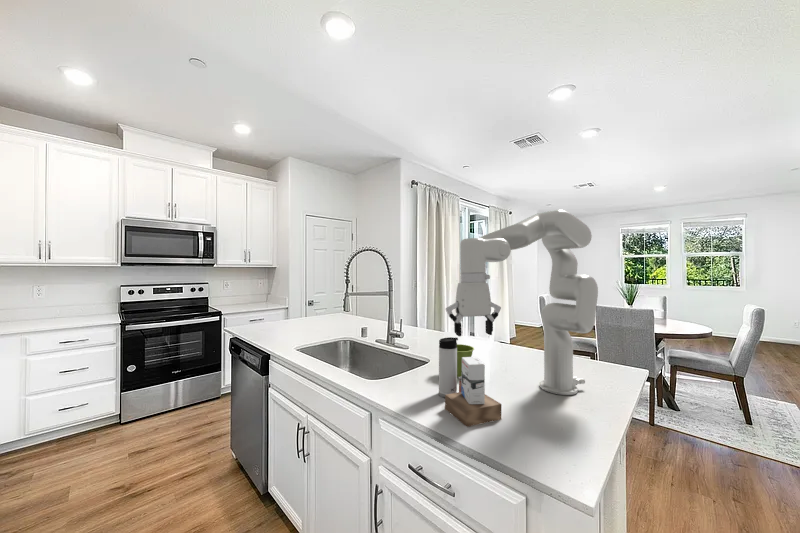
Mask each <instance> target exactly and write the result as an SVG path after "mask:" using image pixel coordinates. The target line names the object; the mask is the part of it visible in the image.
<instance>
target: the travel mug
mask: <svg viewBox="0 0 800 533" xmlns="http://www.w3.org/2000/svg"><path fill="white" fill-rule="evenodd" d="M457 341H459V338H458V337H444V338H443V337H442V338H440V339H439V341H438V342H439V343H438V344H439V345H438V395H439V396H440V397H442V398H444V399H445V395H446V394H452V393H458V377H457V344H458V342H457Z"/></svg>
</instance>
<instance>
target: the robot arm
mask: <svg viewBox="0 0 800 533" xmlns="http://www.w3.org/2000/svg"><path fill="white" fill-rule="evenodd" d="M592 237H593V235H592V231H591V229H590V228H589V226H588V225H587V223H585V222H583V221H582V220H580V219H579V218H577V216H575V215H573V214H572V213H571V212H569V211H566V210H563V209H556V210H549V211H543V212H539V213H536V214H533V215H530V216H529V217H527V218H525V219H522V220H520V221H518V222H516V223H514V224H511V225H508V226H506V227H503V228H500V229H498V230H495V231H493V232H492V231H491V232H489V233H487V234H484V235H482V236H479V237H471V238H470V237H469V238H467V237H466V238H463V239H462V240H461V241H460V246H459V250H460V257H459V258H460V283H457V286H456V294H455V295H456V296H455V302H454V303H452V304H451V305H449V306H447V307H445V311H446V313H447V315H448V317H449V318H450V319H451V320H452V322H454V324H453V325H454V328H453V330H454V333H455V335H456V336H458V337H462V323H461V321H462V320H463V318H465V317H468V318H469V317H470V318H471V317H484V318H485V319H486V320H485V322H484V324H485V333H486V334H487V335H489V336H493V332H494V323H495V321H496V318H498V316H499V313H500V311H501V310H502V307H501V306H500V305H498V304H496V303H494V302H492V301H491V300H492V299H491V292H490V287H489V284H488V282H487V281H488V280H490V279H491V275H490V274H487V272H486V271H487V270H486V267H487V266H486V264H487V263H500V262H503V261H506V260H507V259H508V258H509V257H510V255H511V252H512V251H513V250H518V249H523V248H526V247H528V246H530V245H532V244H533V243H536V242H537V241H539V240H541V242H542V244H543V246H544V248H546V250H547V252H548V253H549V255H550V258H551V272H550V280H549V286H548V287H549V288H548V289H549V295H550V296H551V297H552V298H554V299H556V300H560V301H561V300H562V301H570V302H575V304H571V303H570V304H569V303H561V302H551V303H550V302H549V303H547V304H545V305H544V306H543V308H542V309H541V314H540V315H541V317H540V318H541V324H542V328H543V342H544V344H543V346H544V347H543V348H544V349H543V351H544V352H543V360H544V361H543V365H544V366H543V368H544V369H543V380H541V381H540V382H539V387H540V388H541V389H542V390H543V391H545V392H548V393H551V394H555V395H561V396H572V395H573V396H574V395H576V394H577V393H578V392H579V389H578V387H577V385H584V384H586V380H585V379H584V378H577V376H574V341H573V338H572V336H571V334H570V332H572V333H577V334H588V333H591V331H592V330H593V328H594V325H595V321H596V315H597V306H598V305H597V304H598V296H599V287H598V283H597V281H596V279H595V278H594V277H593V276H591V275H588V274H578V266H579V265H578V259H577V257H576V255H575V254H574V252H573V251H571V249H573V250H574V249H582V248H583V249H584V248H586V247H587V246H589V245H590V243H591V241H592ZM492 308H493V309H494V310H493V312H492ZM453 310H454V311H455V313H456V314H455V315H454V314H453Z"/></svg>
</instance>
